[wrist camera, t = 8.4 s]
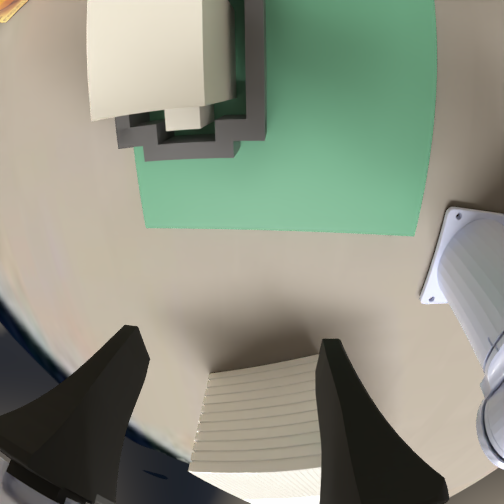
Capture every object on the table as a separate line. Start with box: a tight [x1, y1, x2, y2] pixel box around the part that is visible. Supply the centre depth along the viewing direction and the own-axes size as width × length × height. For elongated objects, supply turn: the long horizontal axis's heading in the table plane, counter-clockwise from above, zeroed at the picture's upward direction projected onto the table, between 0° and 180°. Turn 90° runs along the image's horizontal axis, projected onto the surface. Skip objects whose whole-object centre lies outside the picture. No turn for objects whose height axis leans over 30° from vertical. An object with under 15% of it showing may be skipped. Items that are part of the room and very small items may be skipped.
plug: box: [87, 0, 237, 131], centre depth 10 cm, size 4×8×7 cm, turn 1°
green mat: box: [134, 0, 437, 236], centre depth 13 cm, size 17×20×1 cm
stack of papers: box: [188, 354, 321, 504], centre depth 29 cm, size 32×11×11 cm, turn 22°
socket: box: [115, 0, 267, 162], centre depth 12 cm, size 7×9×2 cm
